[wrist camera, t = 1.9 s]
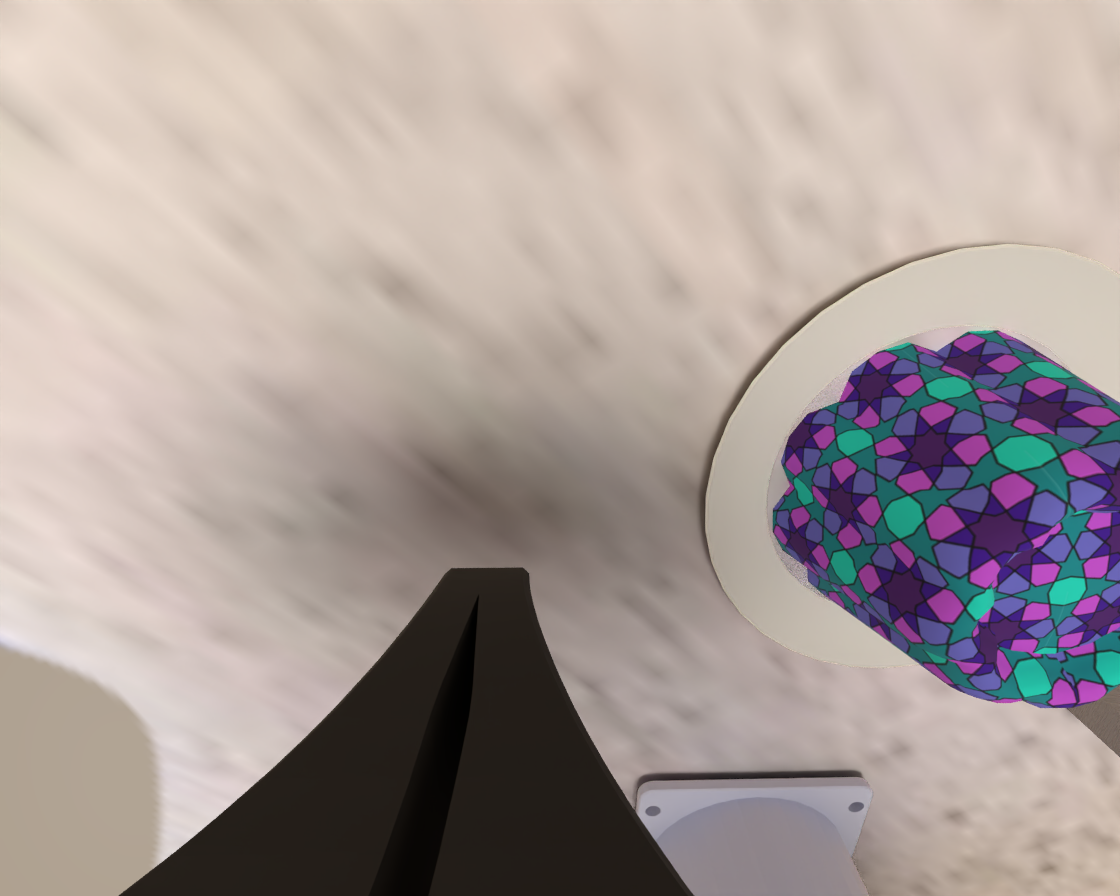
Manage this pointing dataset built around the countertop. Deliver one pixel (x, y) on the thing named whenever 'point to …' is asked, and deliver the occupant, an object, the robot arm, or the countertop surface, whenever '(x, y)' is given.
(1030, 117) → the countertop surface
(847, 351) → the pudding
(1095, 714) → the grey u-shaped frame
